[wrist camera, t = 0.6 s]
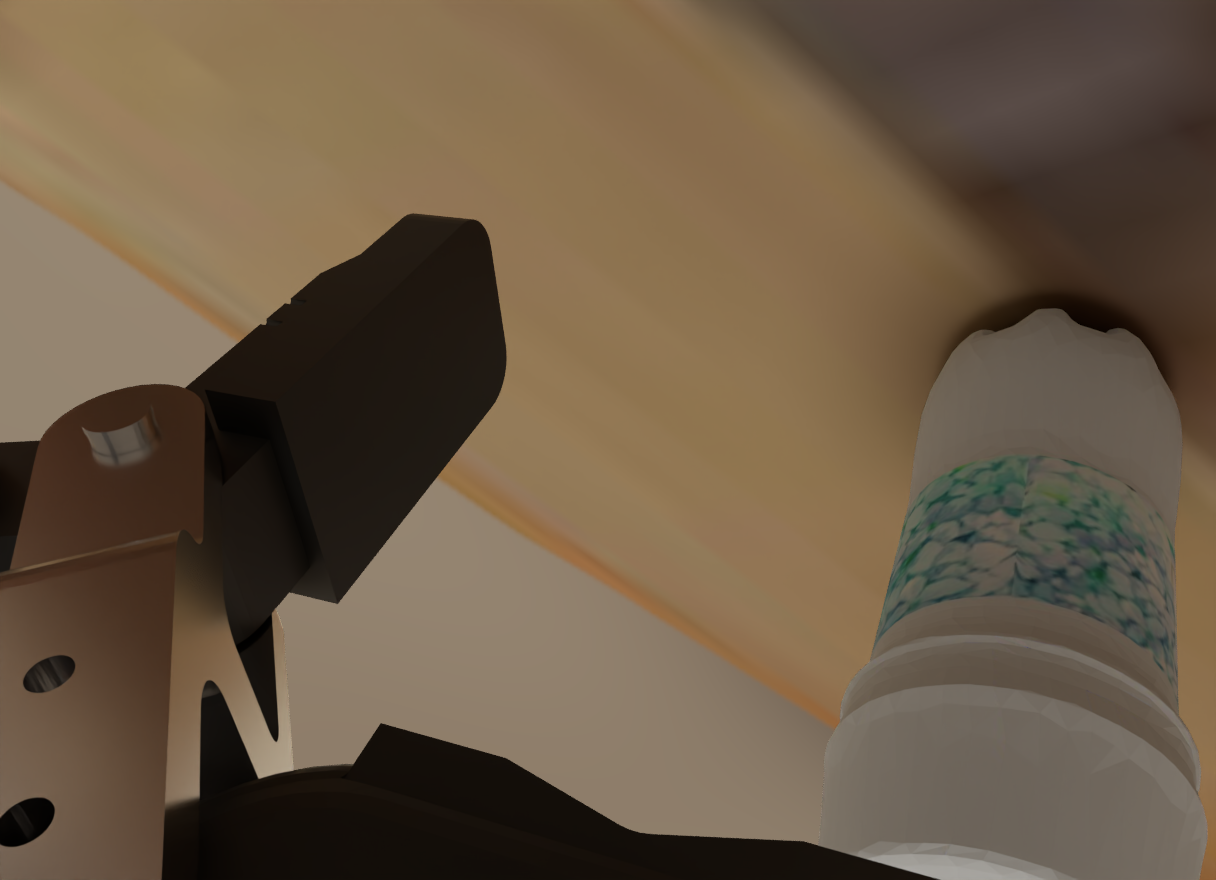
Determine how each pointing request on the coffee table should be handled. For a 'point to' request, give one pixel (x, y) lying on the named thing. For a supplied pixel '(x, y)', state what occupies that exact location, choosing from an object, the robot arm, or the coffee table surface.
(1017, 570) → the bottle
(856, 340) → the coffee table surface
